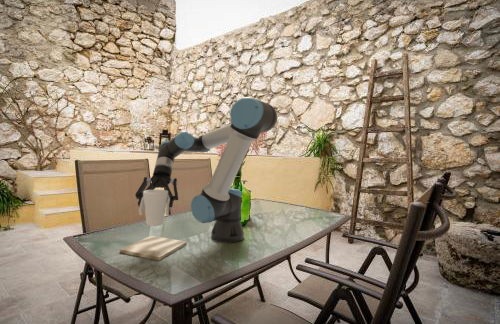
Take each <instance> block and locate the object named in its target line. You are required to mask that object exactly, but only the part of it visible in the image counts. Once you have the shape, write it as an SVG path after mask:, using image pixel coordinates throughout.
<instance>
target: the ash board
mask: <svg viewBox="0 0 500 324" xmlns="http://www.w3.org/2000/svg"><path fill="white" fill-rule="evenodd" d="M187 242H188V241H185V240H179V239H173V238H167V237H161V236H155V235H149V236H148V237H145V238H142V239H140V240H138V241H135V242H133V243H132V244H129V245H126V246H124V247H121V248H120V249H119V253H122V254H127V255H131V256H136V257H140V258H146V259H150V260H156V261H161V260H163V259H165V258H166V257H168V256H170V255H171V254H172V253H174V252H176V251H178V250H180V249H181V248H183V247H185V246H187Z"/></svg>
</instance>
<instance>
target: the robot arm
mask: <svg viewBox="0 0 500 324" xmlns="http://www.w3.org/2000/svg"><path fill="white" fill-rule="evenodd" d="M277 113H278V112H277V110H276V109H275V108H274V106H273V105H272V104H270V103H268V102H264V101H263V100H262V101H261V100H260V99H257V98H254V97H248V96H247V97H245V96H244V97H241V98H239V99H237V100H236V102H234V104H232V107H231V109H230V112H229V116H230V122H231V123H229V124H226V125H224V126H221V127H219V128H217V129H215V130H212V131H209V132H207V133H204V134H201V135H199V136H193V134H192V133H190V132H188V131H187V130H183V131H181V132H180V133H178V134H176V135H175V136H174V137H173V138H172V139H170V140H166V141H163V142H161V144H160V146H159V147H158V153H157V157H156V161H155V165H154V170H153V173H152V176H151V177H150V178H149V177H148V178H147V176H144V177H143V181H142V183H141V185H140V186H139V188H138V189H137V191H136V192H135V194H134V195H135V199H136V200H138V202H137V205H138V207H139V208H138V211H137V212H138V215H139V216H142V215H143V210H144V209H145V206H144V198H143V192H144V191H146V190H156V189H159V188H160V189H164V190H167V191H168V198H167V203H166V209H165V215H166V217H167V216H169V214H170V213H169V212H170V209H171V208H173V207H174V201H178V200H179V193H178V186H177V184H178V179H177V178H176V177H175V178H173V179H172V178H171V177H172V173H173V168H174V167H173V166H174V162H175V159H176V157H178V156H180V155H181V154H183V153H208V152H209V151H210V150H211V149H213V148H216V147H218V146H221V145H225V144H226V145H225V147H224V149H223V151H222V153H221V156H220V158H219V160H218V163H217V165H216V167H215V169H214V172H213V174H212V176H211V178H210V182H209V183H207V184H205V185H204V186H203V188H202V190H201V193H200V194H198V195H195V196H194V197H193V198H192V199H191V202H190V211H191V214H192V216H193V218H194V219H195V220H196V221H197V222H199V223H201V224H208V223H212V222H214V224H213V227H212V230H211V233H210V234H211V235H210V236H211V237H210V238H211V240H213V241H215V242H219V243H229V244H230V243H237V242H240V241H242V240H244V237H245V233H244V229H243V225H242V222H241V211H242V210H241V207H242V203H243V202H242V197H243V195H242V192H241V191H240V190H241V189H237V188H231V187H232V185H233V183H234V181H235V179H236V176H237V175H238V172H239V171H240V168H241V166H242V163H243V162H244V160H245V157H246V155H247V153H248V150H249V149H250V146H251V144H252V142H254V141H257V140H258V138H259V136H260V135H261V134H263V133H266V132H270V131H271V130H272V129H274V128H275V125H276V124H277V121H278V114H277ZM150 182H151V183H150ZM148 184H149V185H148ZM170 184H171V185H173V192H174V195H173V193H172V191H171V189H170V187H169V185H170Z"/></svg>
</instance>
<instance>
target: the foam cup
mask: <svg viewBox="0 0 500 324" xmlns="http://www.w3.org/2000/svg"><path fill="white" fill-rule="evenodd" d="M145 190H146V189H145ZM145 190H144V191H143V198H144V213H145V214H144V215H145V220H146V226H150V227H151V226H152V227H157V226H162V225H164V221H165V215H166V206H167V201H168V198H169V196H168V191H167V190H165V189H154V190H146V191H145Z"/></svg>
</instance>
